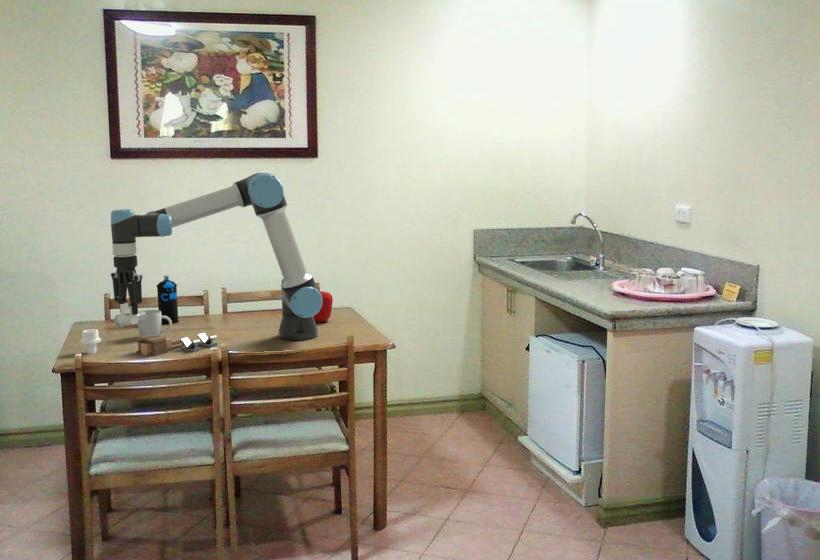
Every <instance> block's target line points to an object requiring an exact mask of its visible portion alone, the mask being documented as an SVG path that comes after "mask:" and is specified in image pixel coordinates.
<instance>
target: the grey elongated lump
mask: <svg viewBox="0 0 820 560" xmlns="http://www.w3.org/2000/svg"><path fill="white" fill-rule="evenodd" d="M137 315H138V323H141V322H145V321H146V319H147V316H146V313H145V312H144V310H138V314H137ZM114 324H115V325H116V326H117V327H119V328H120V327H124V326H131V325H130V317H129V313H126V314H121V313H120V314H116V315H115V317H114Z"/></svg>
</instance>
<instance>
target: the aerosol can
mask: <svg viewBox="0 0 820 560" xmlns="http://www.w3.org/2000/svg"><path fill="white" fill-rule="evenodd" d="M177 286H178V284H177V283H175V282H174V281H172V280H170V277H169V274H165V275H163V280H162V281H160V282H159V283H158V284H157V285H156V288H157V289H156V290H157V292H156V293H157V306H158V307H157V308H158V309H157V310H160V311H161V316H167V317H169V318H170V319H171V321H172V325H173V324H174V325H175V324H178V323H179V322H180V320H179V309H178V306H179V305H178V292H177V291H178V290H177V288H178V287H177ZM162 325H167V326H168V325H169V321H168V320H167V319H164V318H162Z"/></svg>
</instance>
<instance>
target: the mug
mask: <svg viewBox="0 0 820 560" xmlns="http://www.w3.org/2000/svg"><path fill="white" fill-rule="evenodd" d="M143 311H144V312H145V313H146V316H147V319H146V321H145V322H141V323H137V324H136V325H137V330H138V333H139V334H138V335H139V337H142V336H146V335H154V336H159V337H161V333H167V332H169V330H171V328H172V326H173V324H172V321H171V319H170V318H169V317H167V316H161V311H160V310H158V309H145V310H143ZM162 318H164V319H167V320H168V321H169V324H168V327H166V328H165V329H162V326H163V324H162Z"/></svg>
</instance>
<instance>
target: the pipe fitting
mask: <svg viewBox="0 0 820 560" xmlns="http://www.w3.org/2000/svg"><path fill="white" fill-rule="evenodd" d="M81 332H82V338H81V339H79V341H80V344H82V345H86V346H85V347H86V349H85V350H86V354H88V355H93V354H96V353H97V344H99V343H101V342H102V339H101V338H100V337H99V330H98V329H97V328H96V329H95V328H92V329H90V328H89V329H85V330H82V331H81Z"/></svg>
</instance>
